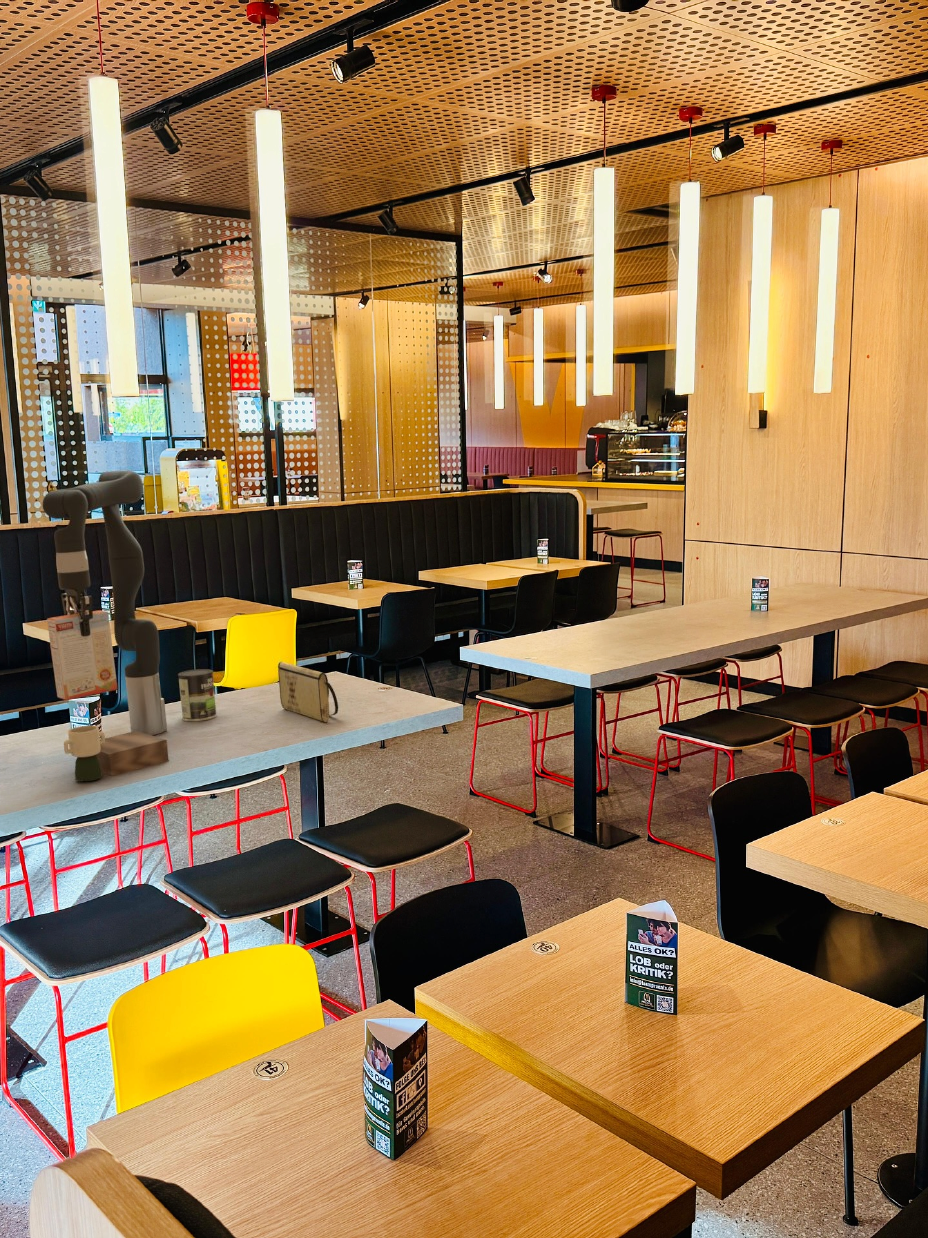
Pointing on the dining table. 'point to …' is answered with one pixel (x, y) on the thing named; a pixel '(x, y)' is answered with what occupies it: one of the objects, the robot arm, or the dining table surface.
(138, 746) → the walnut block
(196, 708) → the coffee can
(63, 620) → the cracker box
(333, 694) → the clutch purse
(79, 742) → the character mug
